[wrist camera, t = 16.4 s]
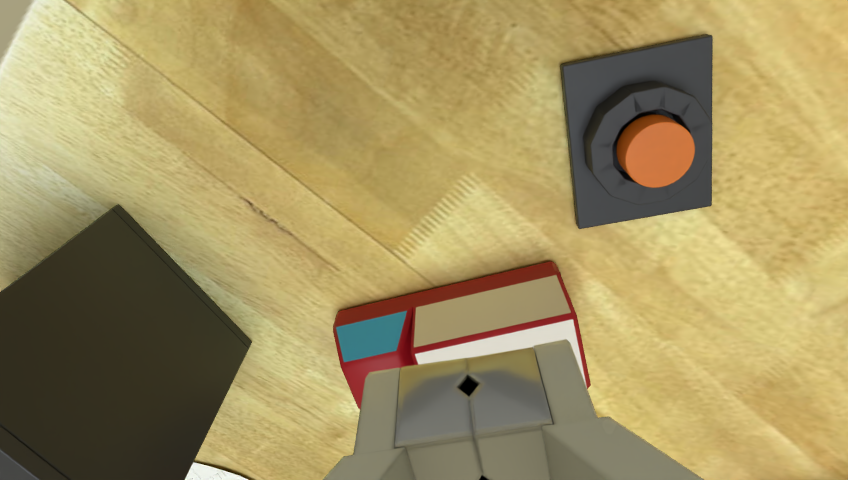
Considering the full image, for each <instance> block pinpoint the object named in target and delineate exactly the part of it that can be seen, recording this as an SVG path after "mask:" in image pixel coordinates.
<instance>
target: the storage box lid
mask: <svg viewBox="0 0 848 480" xmlns="http://www.w3.org/2000/svg"><path fill="white" fill-rule="evenodd" d="M0 480H68V479H67V478H65V477H64V476H63V475H62V474H60V473H59V472H58V471H57V470H55V469H54V468H53V467H52V466H50V465H49V464H48V463H46V462H45V461H44V460H43V459H41V458H40V457H39V456H38V455H36V454H35V453H34V452H33V451H31V450H30V449H29V448H27V447H26V446H25V445H24V444H22V443H21V442H20V441H19V440H17V439H16V438H15V437H13V436H12V435H11V434H10V433H8V432H7V431H6V430H5V429H3V428H2V427H1V426H0Z"/></svg>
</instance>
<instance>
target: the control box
mask: <svg viewBox="0 0 848 480" xmlns="http://www.w3.org/2000/svg"><path fill="white" fill-rule="evenodd" d="M560 67H561V77H562V87H563V97H564V107H565V116H566V126H567V136H568V146H569V156H570V166H571V175H572V185H573V195H574V205H575V215H576V224H577V226H578V228H579V229H582V228H588V227H594V226H599V225H605V224H611V223H617V222H622V221H628V220H634V219H639V218H645V217H651V216H657V215H662V214H668V213H674V212H680V211H685V210H691V209H697V208H702V207H708V206H711V205H712V35H708V34H705V35H701V36H696V37H691V38H686V39H681V40H676V41H671V42H666V43H661V44H656V45H651V46H647V47H642V48H637V49H632V50H627V51H622V52H617V53H612V54H607V55H602V56H597V57H593V58H588V59H583V60H578V61H573V62H568V63H563V64H561V65H560ZM652 114H658V115H663V116H666V117H669V118H670V119H672V120H674V121H675V122H677V123H678V124H680V125H681V126H683V127H684V128H685V129H687V130H688V132H689V133H690V134H691V136H692V138H693V140H694V145H695V154H694V158H693V161H692V164H691V166H690V167H689V169H688V170H687V172H686V173H685V174H684V175H683V176H682V177H681V178H680V179H678V180H677V181H675V182H674V183H672V184H670V185H667V186H663V187H657V188H652V187H646V186H643V185H640V184H638V183H637V182H635V181H634V180H633V179H632V178H631V177H630V176H629V175H628V174H627V172H626V171H625V170H624V169H623V168H622V167H621V165H620V164H619V161H618V158H617V143H618V140H619V138H620V136H621V134H622V132H623V131H624V129H625V128H626V127H627V126H628V125H629V124H630V123H632V122H633V121H635V120H636V119H638V118H640V117H643V116H646V115H652Z"/></svg>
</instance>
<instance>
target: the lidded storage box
mask: <svg viewBox="0 0 848 480" xmlns="http://www.w3.org/2000/svg"><path fill="white" fill-rule="evenodd" d="M251 343H252V341H251V340H250V339H249V338H248V337H247V336H246V335H245V334H244V333H243V332H242V331H241V330H240V329H239V328H238V327H237V326H236V325H235V324H234V323H233V322H232V321H231V320H230V319H229V318H228V317H227V316H226V315H225V314H224V313H223V312H222V310H221V309H220V308H219V307H218V306H217V305H216V304H215V303H214V302H213V301H212V300H211V299H210V298H209V297H208V296H207V295H206V294H205V293H204V292H203V291H202V290H201V289H200V288H199V287H198V286H197V285H196V284H195V283H194V282H193V281H192V280H191V279H190V278H189V276H188V275H187V274H186V273H185V272H184V271H183V270H182V269H181V268H180V267H179V266H178V265H177V264H176V263H175V262H174V261H173V260H172V259H171V258H170V257H169V256H168V255H167V254H166V253H165V252H164V251H163V250H162V249H161V248H160V247H159V246H158V245H157V243H156V242H155V241H154V240H153V239H152V238H151V237H150V236H149V235H148V234H147V233H146V232H145V231H144V230H143V229H142V228H141V227H140V226H139V225H138V224H137V223H136V222H135V221H134V220H133V219H132V218H131V217H130V216H129V215H128V214H127V213H126V212H125V211H124V209H123V208H122V207H121V206H120V205H116V206H115V207H113V208H112V209H111V210H109V211H108V212H106V213H105V214H104V215H102V216H101V217H100V218H98V219H97V220H96V221H94V222H93V223H92V224H90V225H89V226H88V227H86V228H85V229H84V230H82V231H81V232H80V233H78V234H77V235H76V236H74V237H73V238H72V239H70V240H69V241H68V242H66V243H65V244H64V245H62V246H61V247H60V248H58V249H57V250H56V251H54V252H53V253H52V254H50V255H49V256H48V257H46V258H45V259H44V260H42V261H41V262H40V263H38V264H37V265H36V266H34V267H33V268H32V269H30V270H29V271H28V272H26V273H25V274H24V275H22V276H21V277H20V278H18V279H17V280H16V281H14V282H13V283H12V284H10V285H9V286H8V287H6V288H5V289H4V290H2V291H1V292H0V426H1V427H2V428H3V429H5V430H6V431H7V432H8V433H10V434H11V435H12V436H13V437H15V438H16V439H17V440H19V441H20V442H21V443H22V444H24V445H25V446H26V447H27V448H29V449H30V450H31V451H33V452H34V453H35V454H36V455H38V456H39V457H40V458H41V459H43V460H44V461H45V462H46V463H48V464H49V465H50V466H52V467H53V468H54V469H55V470H57V471H58V472H59V473H60V474H62V475H63V476H64V477H65V478H67V479H68V480H185V478H186V476H187V474H188V472H189V470H190V468H191V466H192V464H193V462H194V460H195V458H196V456H197V454H198V452H199V449H200V447H201V445H202V443H203V441H204V439H205V437H206V435H207V433H208V431H209V429H210V427H211V425H212V423H213V421H214V419H215V417H216V415H217V413H218V411H219V409H220V407H221V404H222V402H223V400H224V398H225V396H226V394H227V392H228V390H229V388H230V386H231V384H232V382H233V380H234V378H235V376H236V374H237V372H238V370H239V368H240V366H241V364H242V361H243V359H244V357H245V355H246V353H247V351H248V349H249V347H250V345H251Z"/></svg>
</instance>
